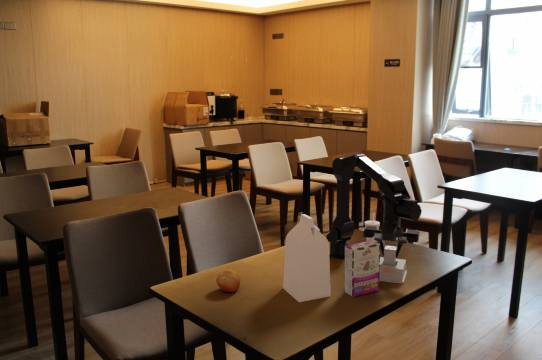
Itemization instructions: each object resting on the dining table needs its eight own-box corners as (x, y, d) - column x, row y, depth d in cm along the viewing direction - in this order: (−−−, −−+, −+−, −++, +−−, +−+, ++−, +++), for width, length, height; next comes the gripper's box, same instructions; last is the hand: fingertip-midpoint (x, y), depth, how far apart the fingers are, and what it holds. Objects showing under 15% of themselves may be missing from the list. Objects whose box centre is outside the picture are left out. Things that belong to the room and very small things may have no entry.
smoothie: (380, 246, 216) (381, 214, 214) (365, 247, 216) (366, 214, 214) (377, 242, 223) (378, 210, 220) (362, 242, 223) (363, 210, 220)
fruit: (246, 280, 178) (241, 266, 173) (239, 300, 173) (233, 285, 168) (224, 278, 181) (219, 263, 176) (217, 296, 175) (211, 282, 170)
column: (382, 274, 184) (383, 248, 182) (384, 270, 188) (385, 245, 186) (395, 276, 182) (396, 250, 180) (396, 271, 186) (397, 246, 184)
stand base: (371, 280, 182) (371, 266, 181) (376, 268, 192) (376, 256, 191) (403, 284, 178) (404, 270, 177) (407, 272, 188) (407, 259, 187)
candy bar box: (370, 285, 177) (371, 239, 174) (379, 291, 173) (381, 243, 169) (343, 292, 172) (344, 244, 169) (352, 297, 168) (353, 249, 164)
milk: (283, 288, 175) (282, 213, 170) (313, 282, 180) (314, 210, 175) (298, 302, 165) (299, 223, 159) (330, 296, 169) (332, 219, 164)
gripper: (361, 218, 176) (359, 261, 180) (417, 223, 170) (415, 268, 173) (366, 210, 187) (365, 251, 190) (420, 214, 180) (418, 257, 183)
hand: (390, 257), depth 184 cm, fingers closed on column, 4 cm apart
